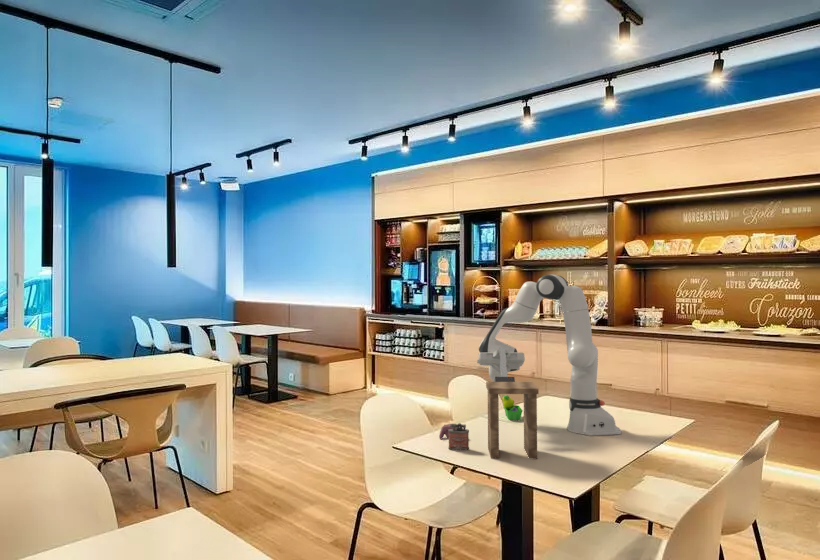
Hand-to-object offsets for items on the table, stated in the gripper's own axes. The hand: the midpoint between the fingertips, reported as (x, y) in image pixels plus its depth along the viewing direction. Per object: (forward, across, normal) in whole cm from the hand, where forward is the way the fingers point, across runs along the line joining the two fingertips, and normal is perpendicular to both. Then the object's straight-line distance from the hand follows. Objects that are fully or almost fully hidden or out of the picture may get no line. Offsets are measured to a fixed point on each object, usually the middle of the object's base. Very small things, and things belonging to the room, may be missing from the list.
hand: (502, 351), depth 235 cm
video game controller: (-11, -22, +35) cm, 43 cm away
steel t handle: (-3, 0, +7) cm, 8 cm away
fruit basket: (-42, +7, +17) cm, 46 cm away
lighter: (+2, -20, +42) cm, 47 cm away
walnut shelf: (+7, 0, +45) cm, 45 cm away
